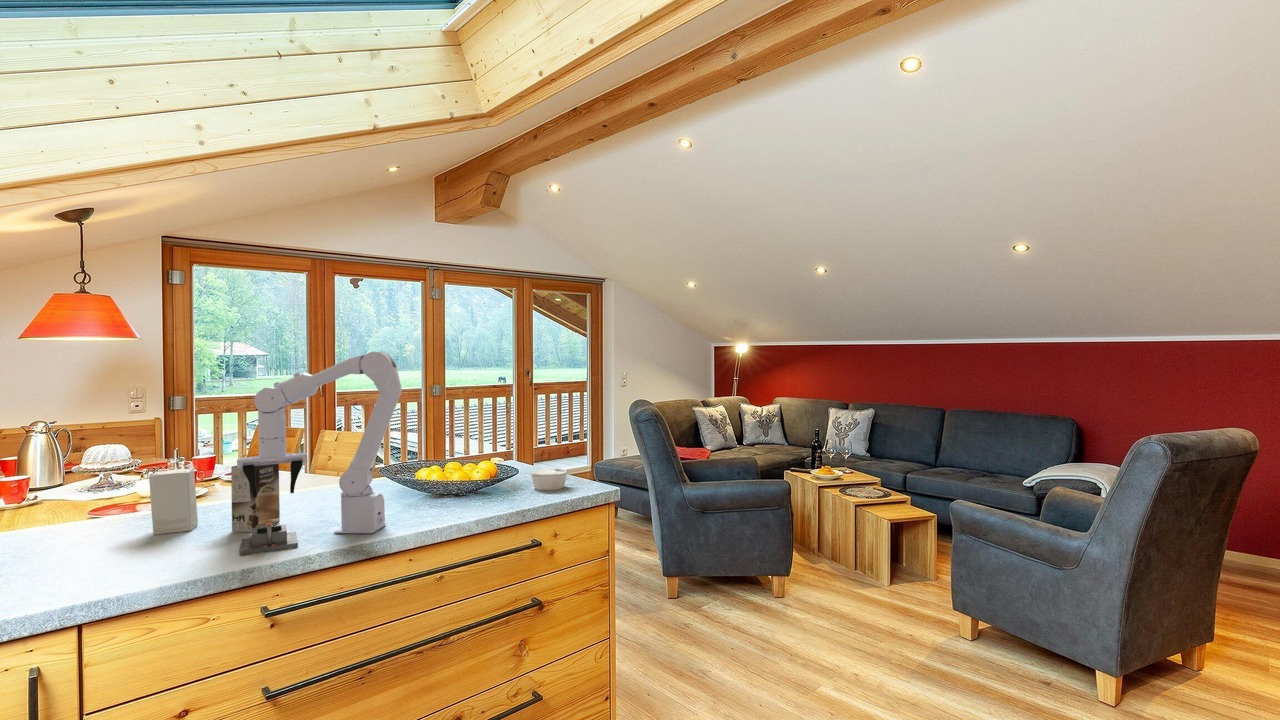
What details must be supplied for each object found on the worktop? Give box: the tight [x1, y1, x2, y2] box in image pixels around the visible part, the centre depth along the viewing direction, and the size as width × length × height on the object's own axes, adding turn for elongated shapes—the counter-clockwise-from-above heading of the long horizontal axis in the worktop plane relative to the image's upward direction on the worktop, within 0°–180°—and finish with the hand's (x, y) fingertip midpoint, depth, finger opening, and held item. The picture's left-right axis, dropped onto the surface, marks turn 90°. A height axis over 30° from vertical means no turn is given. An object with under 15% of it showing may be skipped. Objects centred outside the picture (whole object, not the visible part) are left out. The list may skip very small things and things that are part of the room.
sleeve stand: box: [239, 521, 299, 556], centre depth 147 cm, size 11×11×6 cm
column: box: [258, 490, 281, 524], centre depth 147 cm, size 4×4×6 cm
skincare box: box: [148, 467, 199, 535], centre depth 161 cm, size 8×6×15 cm
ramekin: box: [530, 468, 568, 492], centre depth 206 cm, size 11×11×5 cm
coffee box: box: [230, 461, 281, 533], centre depth 163 cm, size 9×6×16 cm
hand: (273, 494), depth 155 cm, fingers open, 7 cm apart
